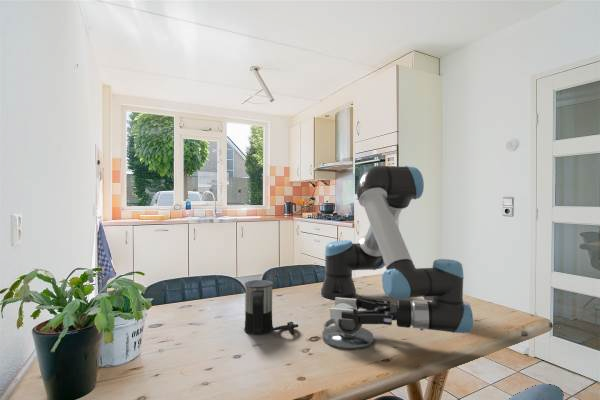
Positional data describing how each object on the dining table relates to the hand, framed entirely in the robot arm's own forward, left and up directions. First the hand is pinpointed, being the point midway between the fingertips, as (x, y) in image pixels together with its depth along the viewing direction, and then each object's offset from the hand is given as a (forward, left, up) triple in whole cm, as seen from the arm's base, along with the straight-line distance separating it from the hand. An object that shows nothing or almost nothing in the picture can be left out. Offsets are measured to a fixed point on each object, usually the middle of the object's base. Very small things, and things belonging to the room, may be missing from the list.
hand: (332, 307), depth 96 cm
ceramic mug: (+3, +1, -7) cm, 7 cm away
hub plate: (+3, +3, -9) cm, 10 cm away
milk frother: (-14, -14, -9) cm, 22 cm away
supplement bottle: (+16, +40, -9) cm, 44 cm away
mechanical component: (+5, +41, -9) cm, 42 cm away
